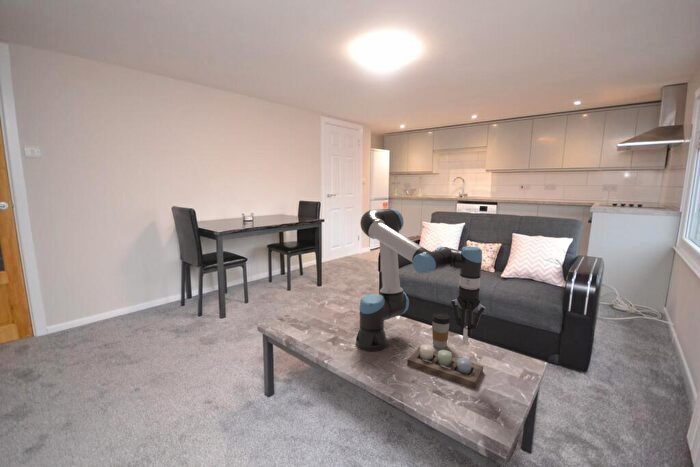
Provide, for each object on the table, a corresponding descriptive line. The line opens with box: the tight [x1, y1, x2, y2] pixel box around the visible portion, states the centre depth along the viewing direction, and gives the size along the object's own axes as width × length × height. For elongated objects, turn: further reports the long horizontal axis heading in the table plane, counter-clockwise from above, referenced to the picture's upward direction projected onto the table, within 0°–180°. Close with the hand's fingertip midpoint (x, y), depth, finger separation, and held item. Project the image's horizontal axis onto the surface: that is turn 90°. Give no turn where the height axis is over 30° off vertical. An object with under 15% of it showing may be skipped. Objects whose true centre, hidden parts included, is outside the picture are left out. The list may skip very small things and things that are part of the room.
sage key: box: [437, 349, 453, 367], centre depth 135 cm, size 6×6×4 cm
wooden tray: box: [406, 346, 484, 389], centre depth 136 cm, size 28×13×2 cm, turn 56°
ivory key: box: [419, 344, 434, 361], centre depth 140 cm, size 6×6×4 cm
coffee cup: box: [431, 312, 451, 350], centre depth 153 cm, size 8×8×15 cm
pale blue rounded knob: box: [456, 357, 473, 375], centre depth 131 cm, size 6×6×4 cm
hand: (465, 342), depth 129 cm, fingers closed
